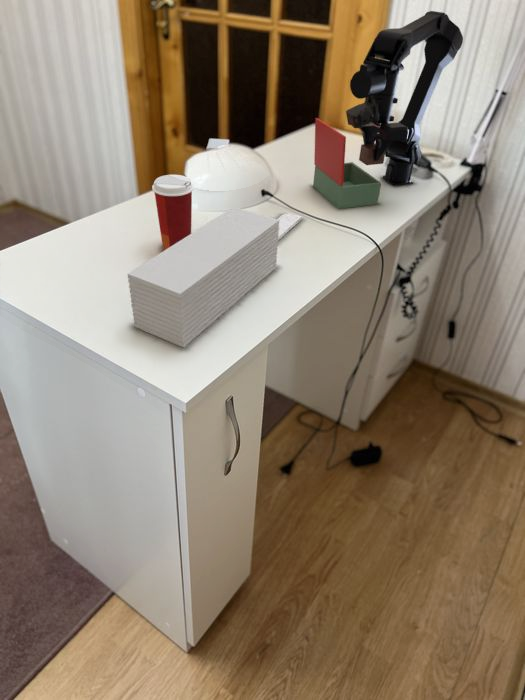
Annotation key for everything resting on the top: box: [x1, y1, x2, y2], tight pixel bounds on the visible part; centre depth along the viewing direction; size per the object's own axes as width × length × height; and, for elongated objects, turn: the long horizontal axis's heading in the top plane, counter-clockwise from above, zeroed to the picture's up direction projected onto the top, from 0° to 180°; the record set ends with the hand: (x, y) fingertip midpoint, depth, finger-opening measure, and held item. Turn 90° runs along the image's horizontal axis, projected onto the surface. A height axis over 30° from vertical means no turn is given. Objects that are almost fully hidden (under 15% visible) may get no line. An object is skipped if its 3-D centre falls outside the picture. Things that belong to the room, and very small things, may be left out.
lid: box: [313, 117, 347, 186], centre depth 133 cm, size 12×15×1 cm
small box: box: [205, 138, 231, 151], centre depth 142 cm, size 8×6×10 cm
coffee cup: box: [151, 174, 194, 251], centre depth 111 cm, size 8×8×15 cm
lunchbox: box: [312, 161, 382, 210], centre depth 141 cm, size 11×15×6 cm
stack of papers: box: [127, 206, 279, 348], centre depth 99 cm, size 32×11×11 cm, turn 150°
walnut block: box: [358, 143, 386, 166], centre depth 136 cm, size 5×4×4 cm
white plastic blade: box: [277, 212, 302, 241], centre depth 124 cm, size 5×15×1 cm, turn 152°
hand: (371, 157), depth 136 cm, fingers closed on walnut block, 4 cm apart
